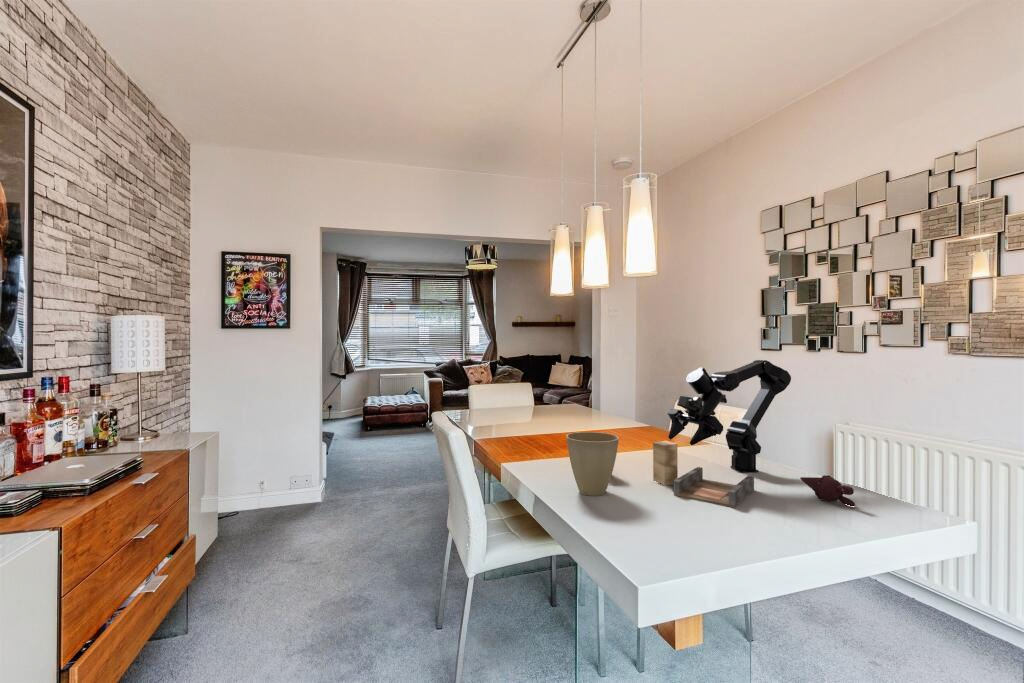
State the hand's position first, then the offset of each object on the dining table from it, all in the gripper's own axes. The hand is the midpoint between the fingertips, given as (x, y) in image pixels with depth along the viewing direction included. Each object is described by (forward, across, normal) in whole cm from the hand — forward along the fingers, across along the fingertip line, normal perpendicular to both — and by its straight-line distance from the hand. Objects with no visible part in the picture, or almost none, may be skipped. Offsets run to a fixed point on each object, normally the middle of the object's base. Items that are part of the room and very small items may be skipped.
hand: (679, 441), depth 146 cm
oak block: (+12, 0, +4) cm, 13 cm away
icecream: (-7, +30, +24) cm, 40 cm away
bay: (+8, +13, +9) cm, 18 cm away
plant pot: (+31, -1, -13) cm, 33 cm away
